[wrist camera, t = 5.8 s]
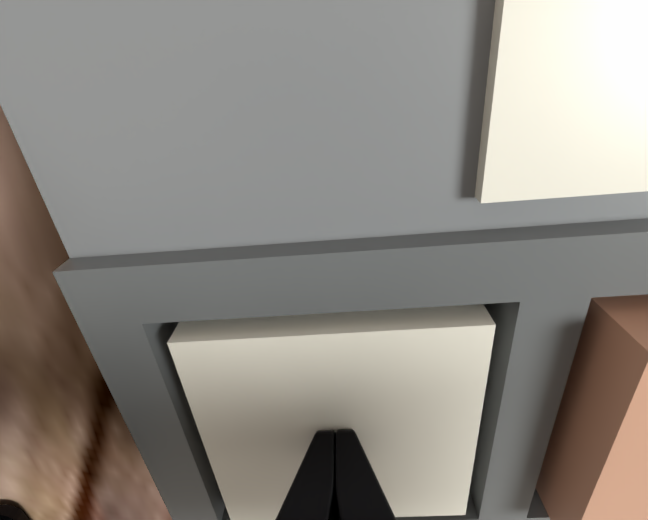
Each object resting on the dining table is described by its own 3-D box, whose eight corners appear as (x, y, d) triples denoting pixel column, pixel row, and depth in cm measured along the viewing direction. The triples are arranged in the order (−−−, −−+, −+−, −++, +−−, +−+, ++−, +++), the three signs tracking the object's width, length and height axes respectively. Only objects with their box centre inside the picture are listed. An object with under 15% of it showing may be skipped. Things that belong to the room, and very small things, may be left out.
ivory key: (444, 443, 11) (465, 514, 10) (246, 451, 12) (231, 522, 10) (462, 268, 9) (496, 324, 7) (200, 285, 9) (167, 343, 7)
